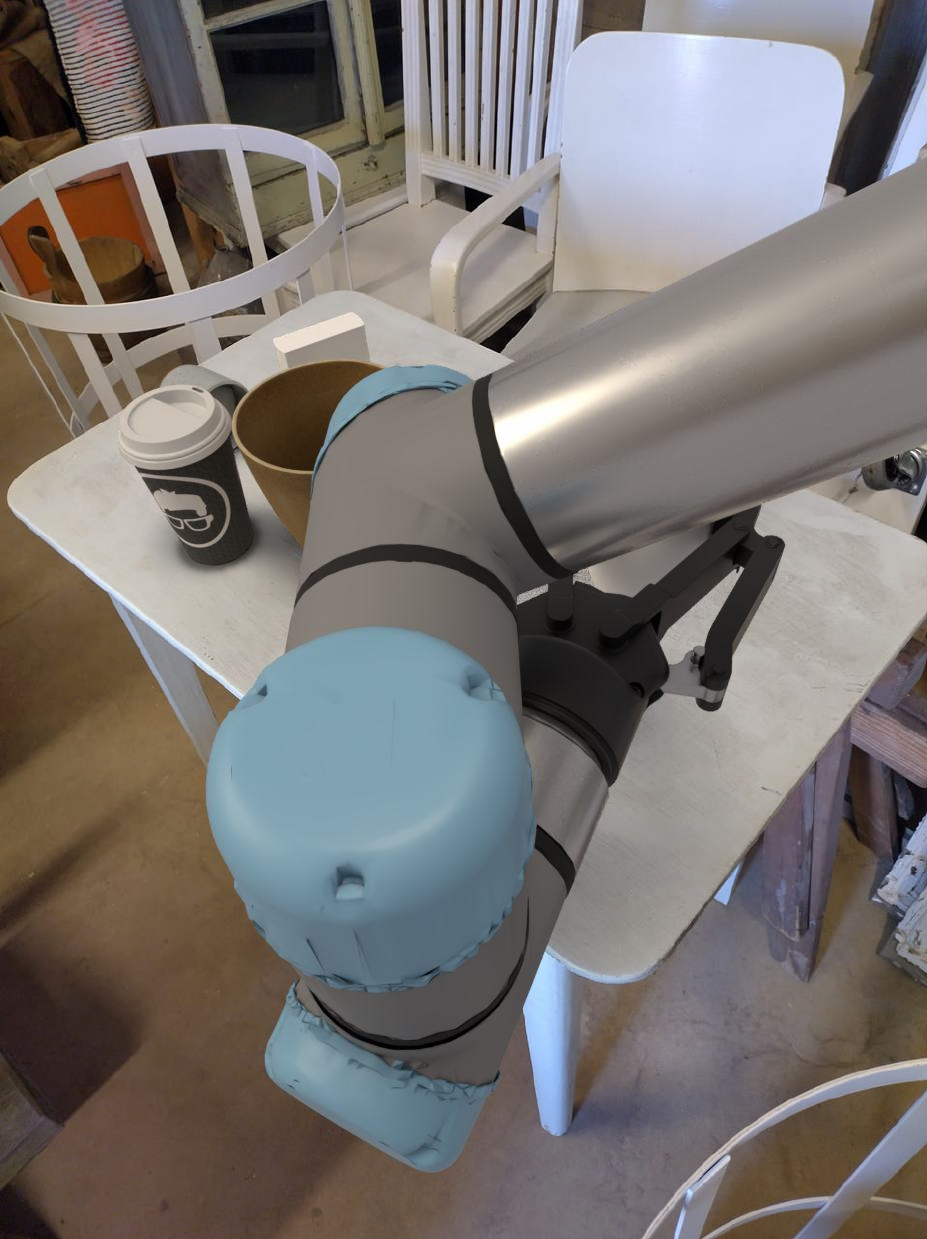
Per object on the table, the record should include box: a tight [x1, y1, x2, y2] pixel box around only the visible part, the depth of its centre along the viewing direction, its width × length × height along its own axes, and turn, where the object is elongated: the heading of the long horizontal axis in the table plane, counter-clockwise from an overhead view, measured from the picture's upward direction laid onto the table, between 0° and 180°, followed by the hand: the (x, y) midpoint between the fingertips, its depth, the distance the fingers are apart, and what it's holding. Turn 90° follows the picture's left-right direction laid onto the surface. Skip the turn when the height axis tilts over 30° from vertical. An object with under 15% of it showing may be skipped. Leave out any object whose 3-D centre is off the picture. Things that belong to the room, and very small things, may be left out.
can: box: [587, 521, 715, 598], centre depth 46 cm, size 7×7×12 cm
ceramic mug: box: [158, 364, 250, 450], centre depth 86 cm, size 11×8×8 cm
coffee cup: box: [117, 385, 254, 566], centre depth 73 cm, size 10×10×15 cm
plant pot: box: [232, 359, 388, 550], centre depth 71 cm, size 15×15×16 cm
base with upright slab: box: [272, 311, 371, 372], centre depth 84 cm, size 9×9×12 cm
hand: (683, 440), depth 48 cm, fingers closed on can, 7 cm apart
